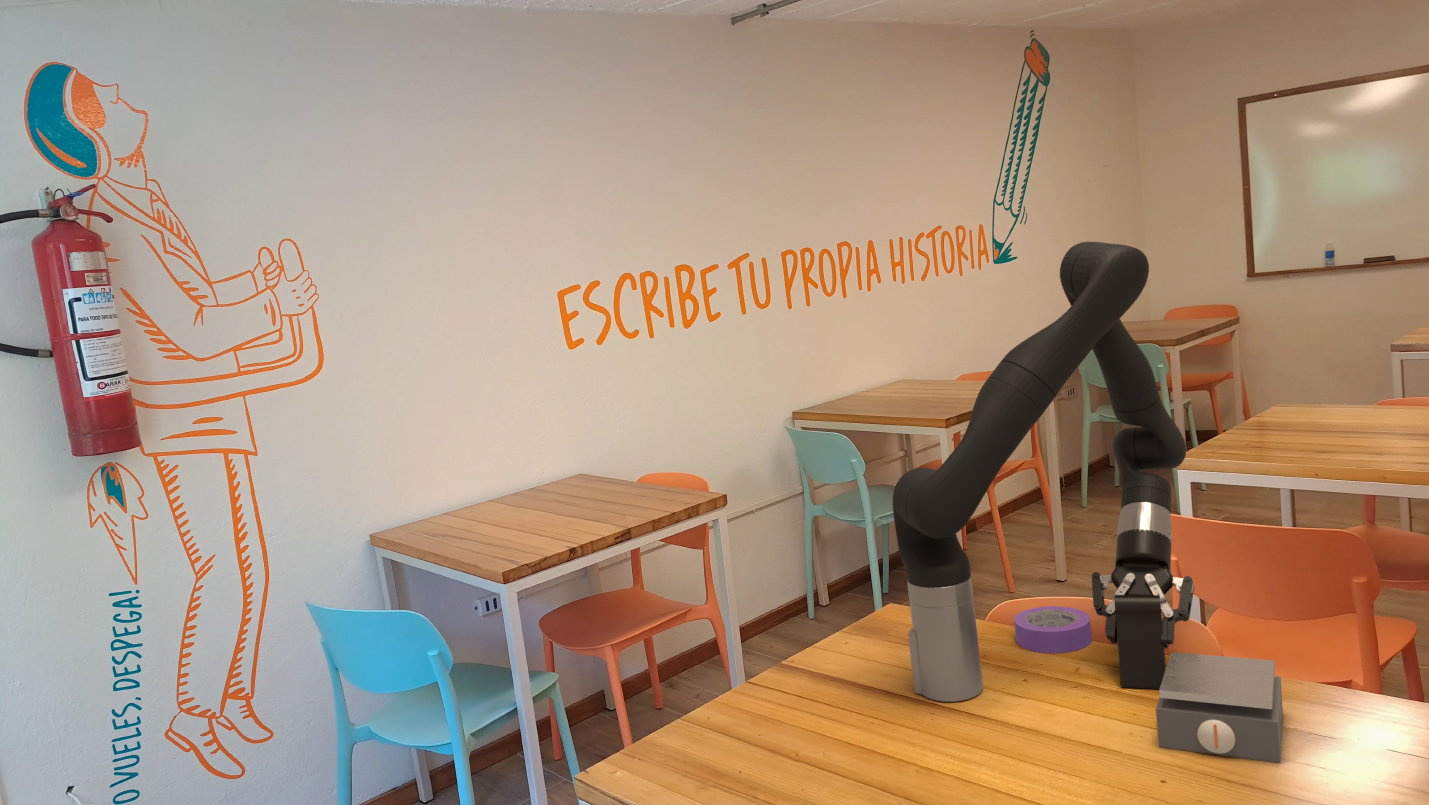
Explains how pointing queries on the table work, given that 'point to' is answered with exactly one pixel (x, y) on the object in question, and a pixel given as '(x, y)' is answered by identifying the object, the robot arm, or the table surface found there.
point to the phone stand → (1140, 641)
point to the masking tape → (1053, 629)
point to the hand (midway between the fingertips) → (1138, 643)
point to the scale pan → (1219, 680)
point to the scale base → (1222, 727)
